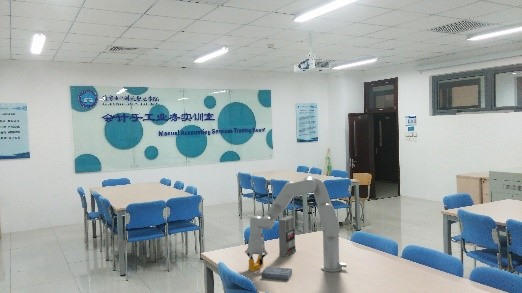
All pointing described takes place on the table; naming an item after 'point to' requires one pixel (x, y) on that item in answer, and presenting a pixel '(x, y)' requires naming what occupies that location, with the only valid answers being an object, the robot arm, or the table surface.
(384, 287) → the table surface
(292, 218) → the cassette tape recorder
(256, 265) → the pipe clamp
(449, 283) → the table surface
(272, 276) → the slate stand
